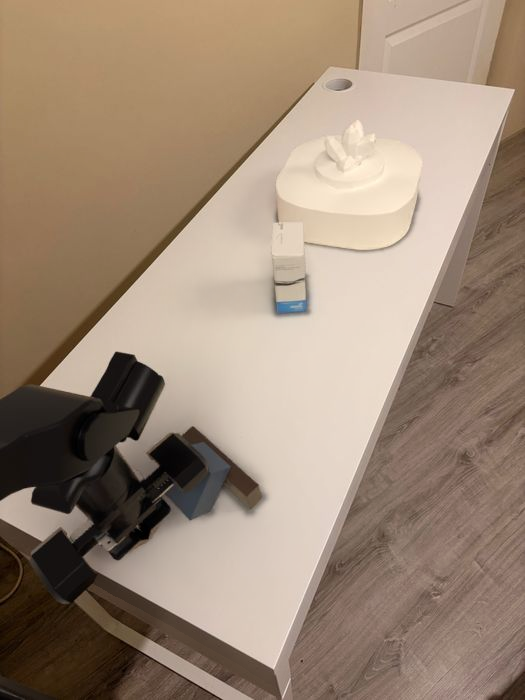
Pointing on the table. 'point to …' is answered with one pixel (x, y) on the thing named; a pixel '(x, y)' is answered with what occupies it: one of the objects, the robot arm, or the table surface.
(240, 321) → the table surface
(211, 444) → the walnut rail
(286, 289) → the ink box
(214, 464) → the slate block
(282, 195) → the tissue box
